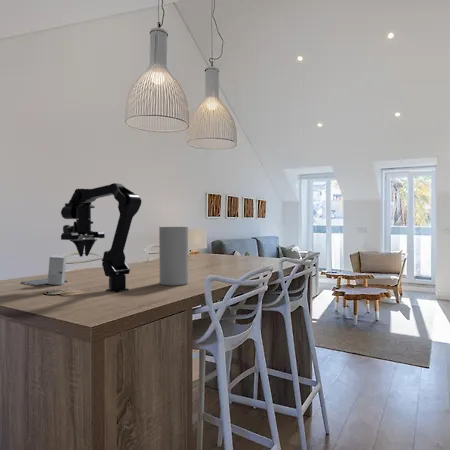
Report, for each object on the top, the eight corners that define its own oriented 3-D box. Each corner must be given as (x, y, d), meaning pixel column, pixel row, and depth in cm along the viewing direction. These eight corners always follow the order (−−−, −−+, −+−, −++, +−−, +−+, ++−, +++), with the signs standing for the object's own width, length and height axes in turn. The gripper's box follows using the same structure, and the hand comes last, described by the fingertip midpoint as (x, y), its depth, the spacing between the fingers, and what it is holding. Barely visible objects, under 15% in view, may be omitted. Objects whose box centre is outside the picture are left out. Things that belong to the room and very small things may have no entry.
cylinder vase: (190, 281, 170) (190, 226, 169) (185, 286, 157) (184, 227, 157) (163, 281, 171) (163, 226, 171) (156, 285, 158) (155, 227, 158)
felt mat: (67, 281, 170) (67, 280, 170) (36, 286, 158) (36, 284, 158) (50, 279, 178) (50, 277, 178) (20, 283, 167) (20, 281, 167)
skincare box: (47, 284, 160) (48, 256, 159) (50, 282, 165) (52, 255, 164) (62, 285, 161) (63, 257, 160) (65, 282, 166) (66, 255, 165)
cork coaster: (89, 293, 143) (89, 292, 143) (68, 297, 136) (68, 296, 136) (76, 290, 148) (76, 289, 148) (54, 294, 141) (54, 293, 141)
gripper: (86, 219, 168) (86, 253, 168) (51, 219, 151) (51, 257, 151) (105, 219, 163) (105, 254, 163) (70, 219, 146) (71, 258, 146)
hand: (83, 256), depth 156 cm, fingers open, 3 cm apart
